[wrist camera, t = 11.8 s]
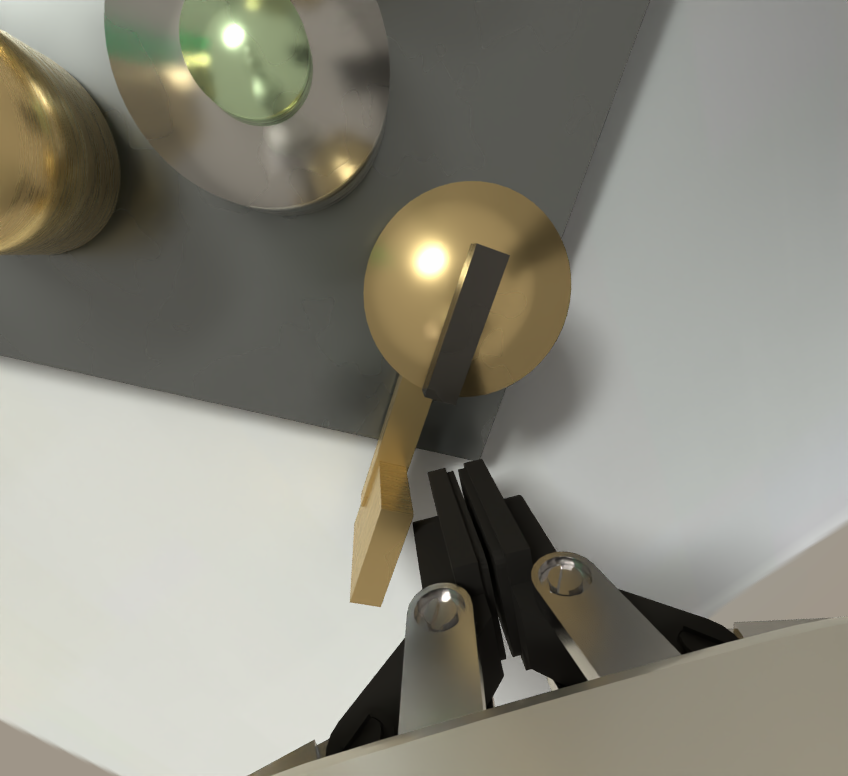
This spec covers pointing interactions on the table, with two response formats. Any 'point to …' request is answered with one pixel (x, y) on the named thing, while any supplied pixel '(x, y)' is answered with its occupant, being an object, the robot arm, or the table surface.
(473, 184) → the foot screw
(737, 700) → the robot arm
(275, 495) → the table surface
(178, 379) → the levelling plate
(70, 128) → the foot screw
